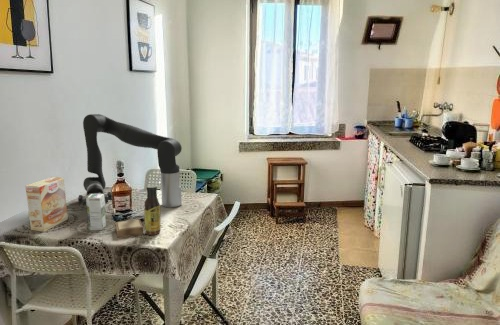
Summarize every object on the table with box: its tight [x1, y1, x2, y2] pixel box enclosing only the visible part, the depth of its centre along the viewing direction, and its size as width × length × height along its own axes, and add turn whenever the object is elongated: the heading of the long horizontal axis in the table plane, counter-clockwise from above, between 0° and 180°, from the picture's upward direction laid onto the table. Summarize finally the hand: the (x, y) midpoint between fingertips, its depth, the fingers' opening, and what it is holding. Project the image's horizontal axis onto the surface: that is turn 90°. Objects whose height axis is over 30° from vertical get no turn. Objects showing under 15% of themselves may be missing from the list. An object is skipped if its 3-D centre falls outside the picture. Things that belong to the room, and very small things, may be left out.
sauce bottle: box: [144, 184, 162, 236], centre depth 153 cm, size 6×6×20 cm
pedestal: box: [115, 218, 144, 239], centre depth 156 cm, size 10×10×3 cm
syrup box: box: [86, 193, 107, 231], centre depth 158 cm, size 6×6×14 cm
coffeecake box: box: [24, 176, 69, 232], centre depth 161 cm, size 15×7×20 cm, turn 168°
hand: (95, 202), depth 165 cm, fingers open, 8 cm apart
